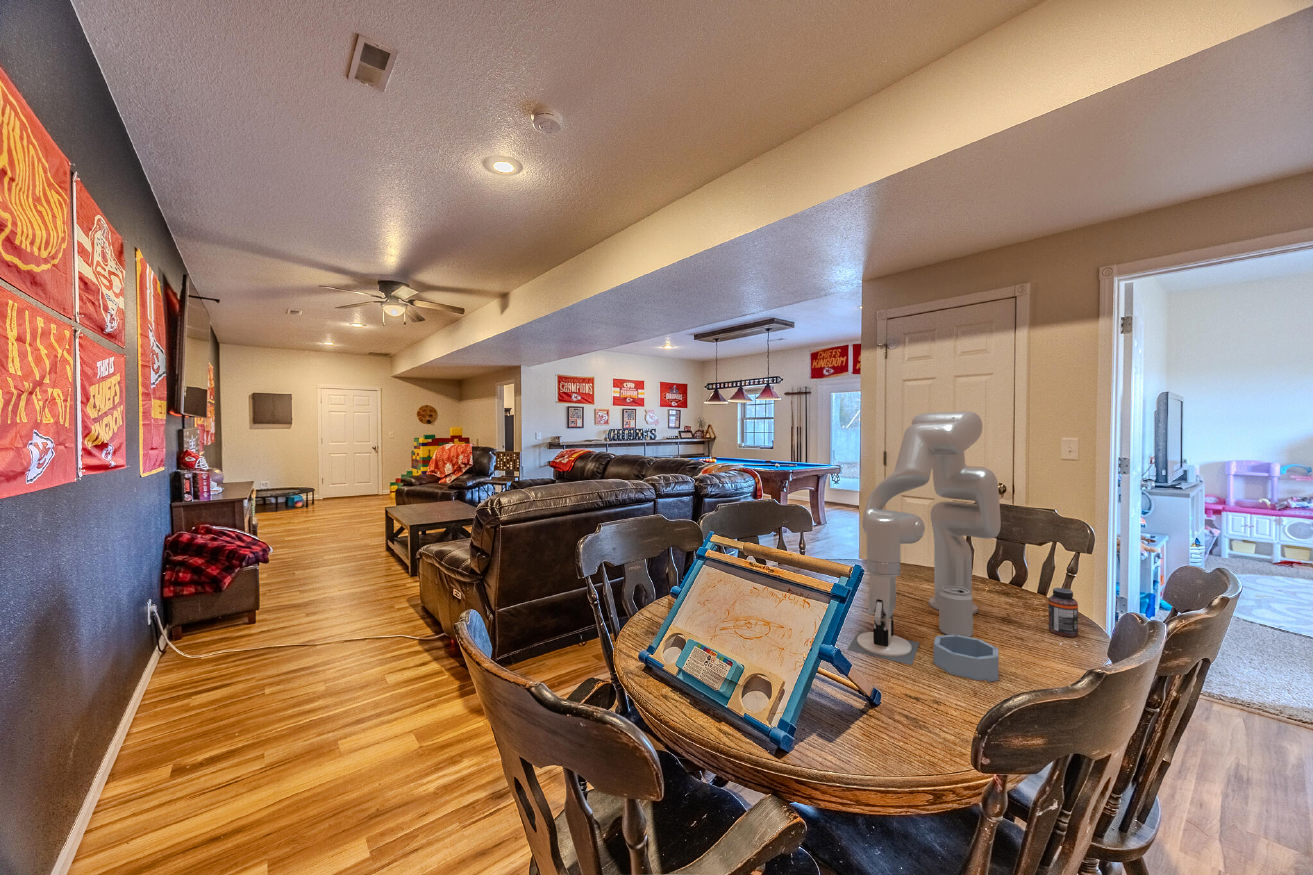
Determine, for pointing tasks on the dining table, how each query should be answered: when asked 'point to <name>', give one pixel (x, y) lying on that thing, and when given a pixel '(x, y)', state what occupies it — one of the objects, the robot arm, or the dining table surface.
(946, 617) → the can
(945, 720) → the dining table surface
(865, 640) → the lid
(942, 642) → the bowl
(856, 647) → the plate
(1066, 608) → the supplement bottle
